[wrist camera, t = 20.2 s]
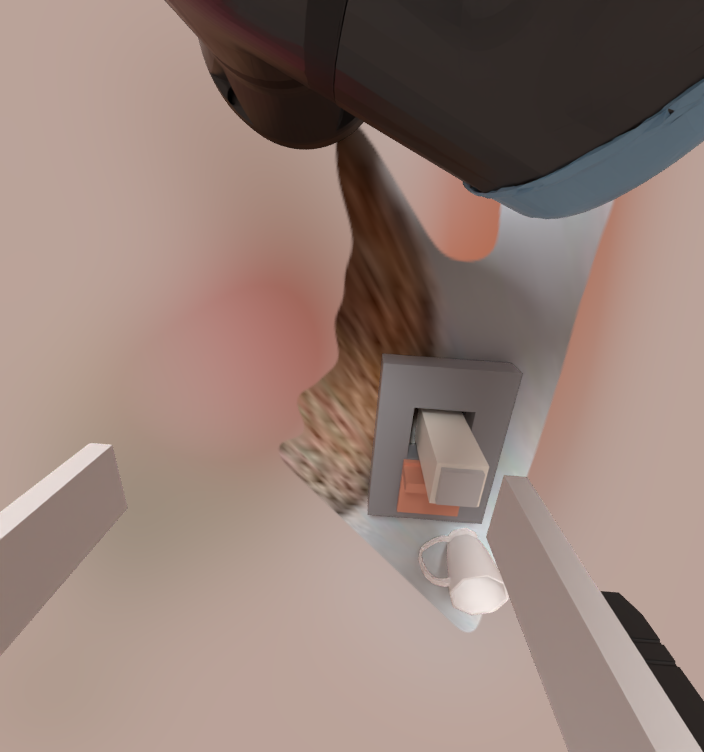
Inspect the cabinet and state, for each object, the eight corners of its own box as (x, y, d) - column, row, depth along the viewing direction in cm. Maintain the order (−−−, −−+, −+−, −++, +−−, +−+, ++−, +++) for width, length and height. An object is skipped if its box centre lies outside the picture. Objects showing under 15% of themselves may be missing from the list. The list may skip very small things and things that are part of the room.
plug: (414, 436, 42) (430, 507, 31) (419, 403, 40) (438, 466, 30) (451, 439, 42) (480, 511, 31) (458, 406, 40) (491, 471, 30)
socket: (382, 353, 38) (383, 363, 35) (511, 362, 38) (522, 373, 35) (367, 497, 46) (367, 514, 43) (474, 505, 46) (481, 523, 43)
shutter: (403, 459, 40) (407, 480, 36) (467, 464, 39) (476, 485, 36) (396, 508, 42) (398, 531, 39) (456, 512, 42) (463, 537, 39)
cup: (480, 560, 49) (500, 619, 42) (410, 552, 49) (418, 609, 42) (494, 523, 47) (518, 579, 39) (420, 514, 47) (430, 568, 39)
